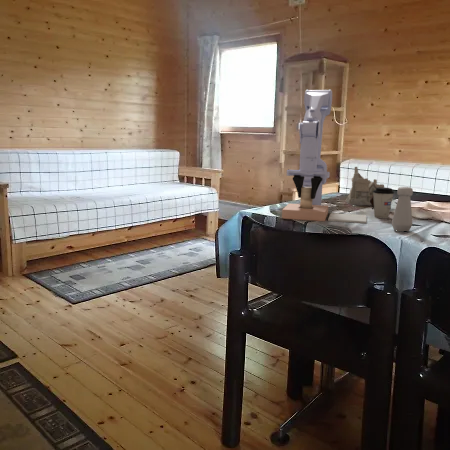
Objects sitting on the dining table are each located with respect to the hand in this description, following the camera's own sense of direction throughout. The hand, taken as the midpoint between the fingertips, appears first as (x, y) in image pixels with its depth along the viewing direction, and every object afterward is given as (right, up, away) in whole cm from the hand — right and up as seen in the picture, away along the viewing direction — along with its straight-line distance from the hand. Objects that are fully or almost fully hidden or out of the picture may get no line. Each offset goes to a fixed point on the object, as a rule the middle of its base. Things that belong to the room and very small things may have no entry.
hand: (306, 198), depth 158 cm
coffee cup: (+26, -7, +2) cm, 27 cm away
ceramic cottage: (+30, 0, +35) cm, 46 cm away
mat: (+13, -7, -3) cm, 15 cm away
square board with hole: (0, -6, +1) cm, 6 cm away
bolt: (+31, -4, +17) cm, 36 cm away
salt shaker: (+25, -11, -20) cm, 34 cm away
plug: (0, -4, +1) cm, 4 cm away
